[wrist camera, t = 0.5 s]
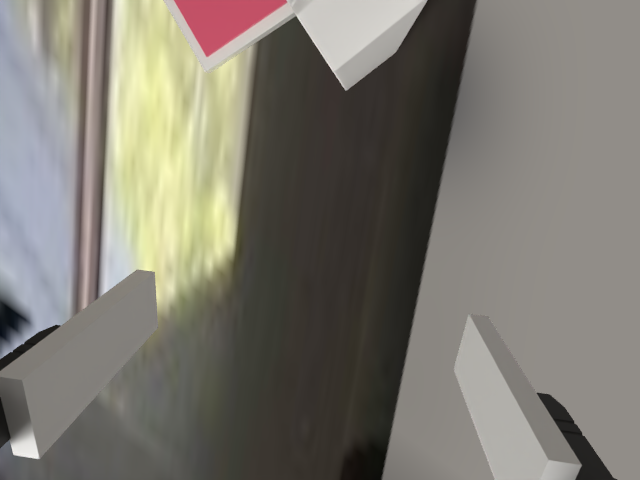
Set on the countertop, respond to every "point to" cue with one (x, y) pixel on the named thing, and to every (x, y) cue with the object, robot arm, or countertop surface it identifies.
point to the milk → (356, 32)
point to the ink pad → (226, 25)
